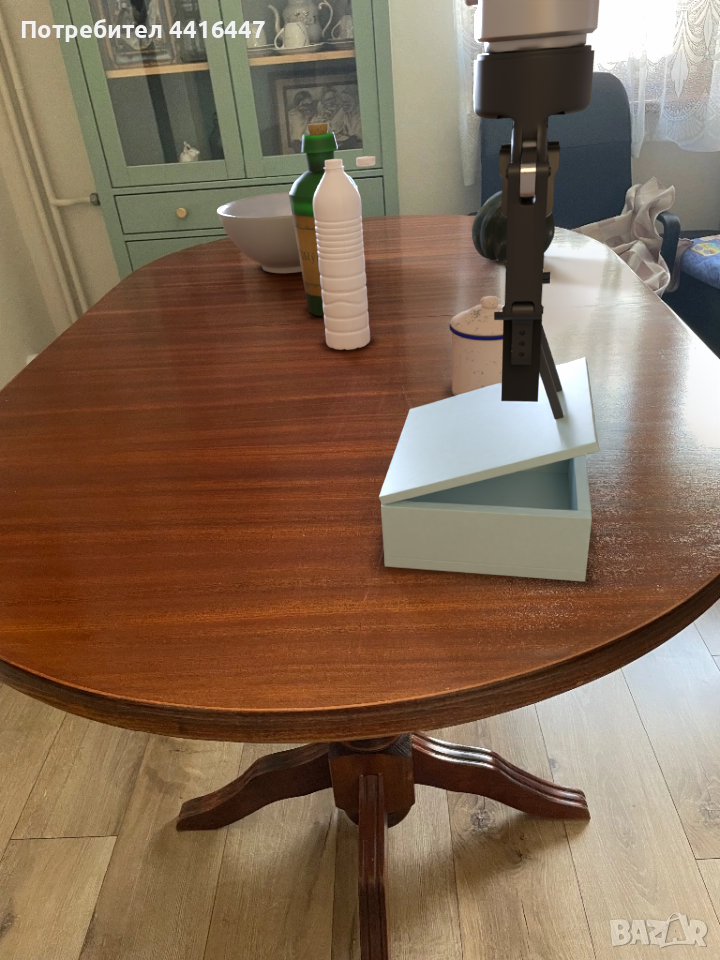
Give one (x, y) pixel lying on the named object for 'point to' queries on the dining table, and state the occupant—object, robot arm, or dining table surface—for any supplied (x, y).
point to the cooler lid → (494, 433)
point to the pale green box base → (497, 525)
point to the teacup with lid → (477, 347)
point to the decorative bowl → (263, 231)
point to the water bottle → (342, 257)
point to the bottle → (311, 208)
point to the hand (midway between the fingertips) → (520, 381)
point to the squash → (498, 230)
